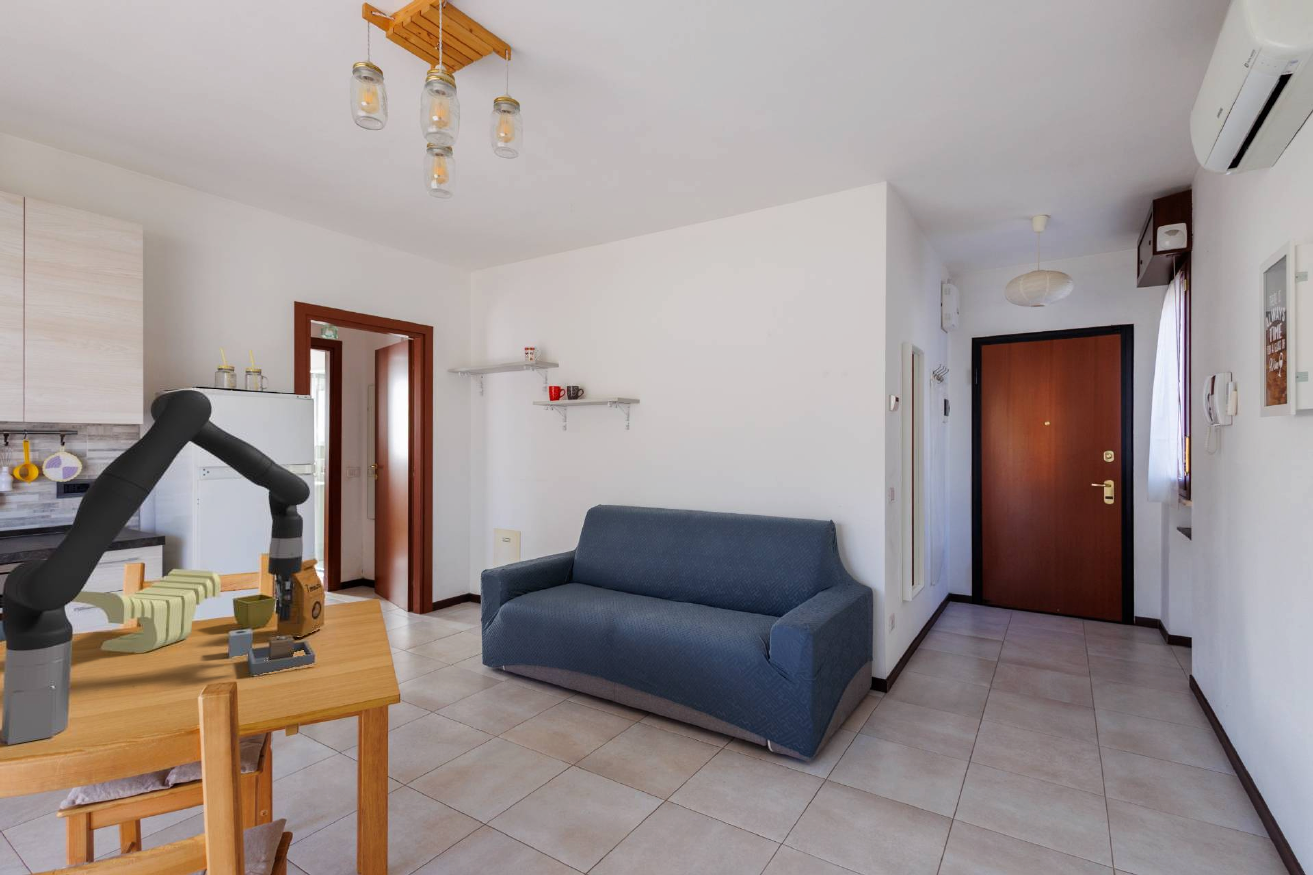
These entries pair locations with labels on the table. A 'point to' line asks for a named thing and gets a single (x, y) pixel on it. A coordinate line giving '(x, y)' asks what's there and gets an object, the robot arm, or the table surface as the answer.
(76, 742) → the table surface
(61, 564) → the robot arm
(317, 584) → the coffee package
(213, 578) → the slatted curved stool
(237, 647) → the slate block
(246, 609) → the flower pot
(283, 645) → the walnut block
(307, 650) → the tray
